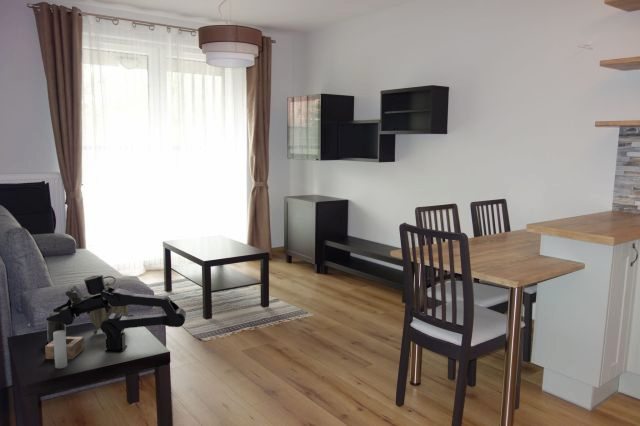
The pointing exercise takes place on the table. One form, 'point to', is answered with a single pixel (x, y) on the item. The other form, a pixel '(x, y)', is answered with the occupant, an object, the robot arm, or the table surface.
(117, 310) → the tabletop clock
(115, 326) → the robot arm
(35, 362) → the table surface
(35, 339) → the table surface
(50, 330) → the supplement bottle
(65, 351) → the peg
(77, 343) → the socket block
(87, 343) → the table surface
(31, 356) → the table surface
